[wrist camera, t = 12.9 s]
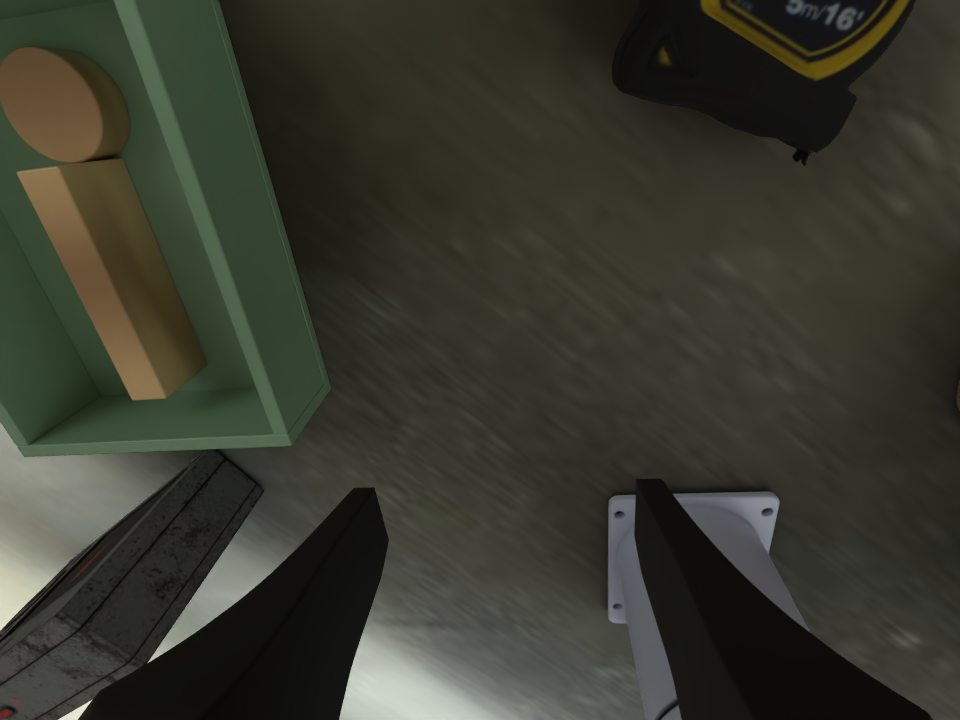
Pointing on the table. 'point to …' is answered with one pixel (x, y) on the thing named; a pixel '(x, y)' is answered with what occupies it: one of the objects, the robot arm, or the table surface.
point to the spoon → (99, 215)
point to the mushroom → (958, 396)
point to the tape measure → (758, 61)
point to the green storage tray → (181, 238)
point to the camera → (121, 593)
